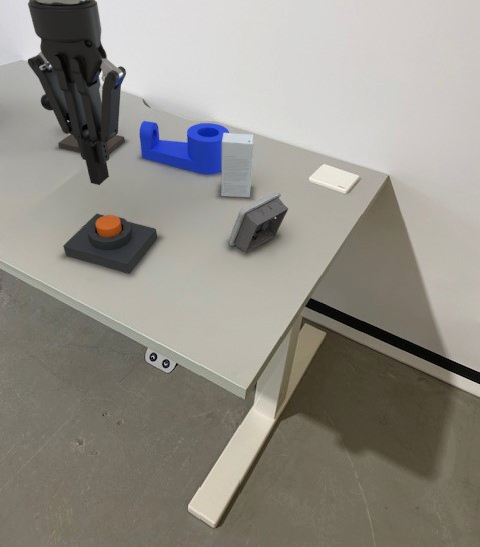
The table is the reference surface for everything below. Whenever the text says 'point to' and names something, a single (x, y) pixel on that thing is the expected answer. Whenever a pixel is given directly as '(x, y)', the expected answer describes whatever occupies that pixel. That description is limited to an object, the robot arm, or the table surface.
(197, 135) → the bracket
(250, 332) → the table surface
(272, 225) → the electrical switch
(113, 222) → the button
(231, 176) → the cosmetic box
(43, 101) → the lever
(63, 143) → the bracket
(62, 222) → the table surface
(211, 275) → the table surface
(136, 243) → the button box
